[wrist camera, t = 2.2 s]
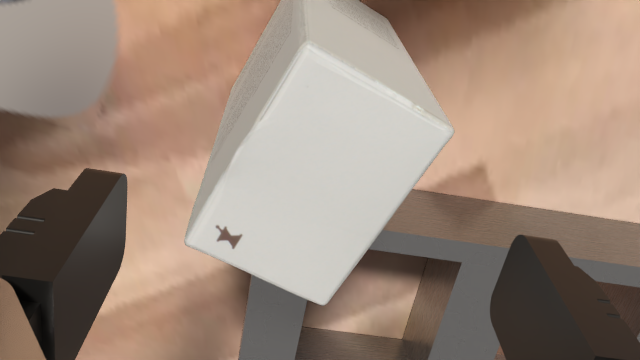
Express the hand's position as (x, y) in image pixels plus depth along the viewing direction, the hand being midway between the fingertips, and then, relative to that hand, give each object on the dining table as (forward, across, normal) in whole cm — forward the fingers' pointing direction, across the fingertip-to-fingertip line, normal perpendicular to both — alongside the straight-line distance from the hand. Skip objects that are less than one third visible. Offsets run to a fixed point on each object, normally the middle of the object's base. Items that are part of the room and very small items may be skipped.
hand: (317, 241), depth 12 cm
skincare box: (+14, 0, 0) cm, 14 cm away
